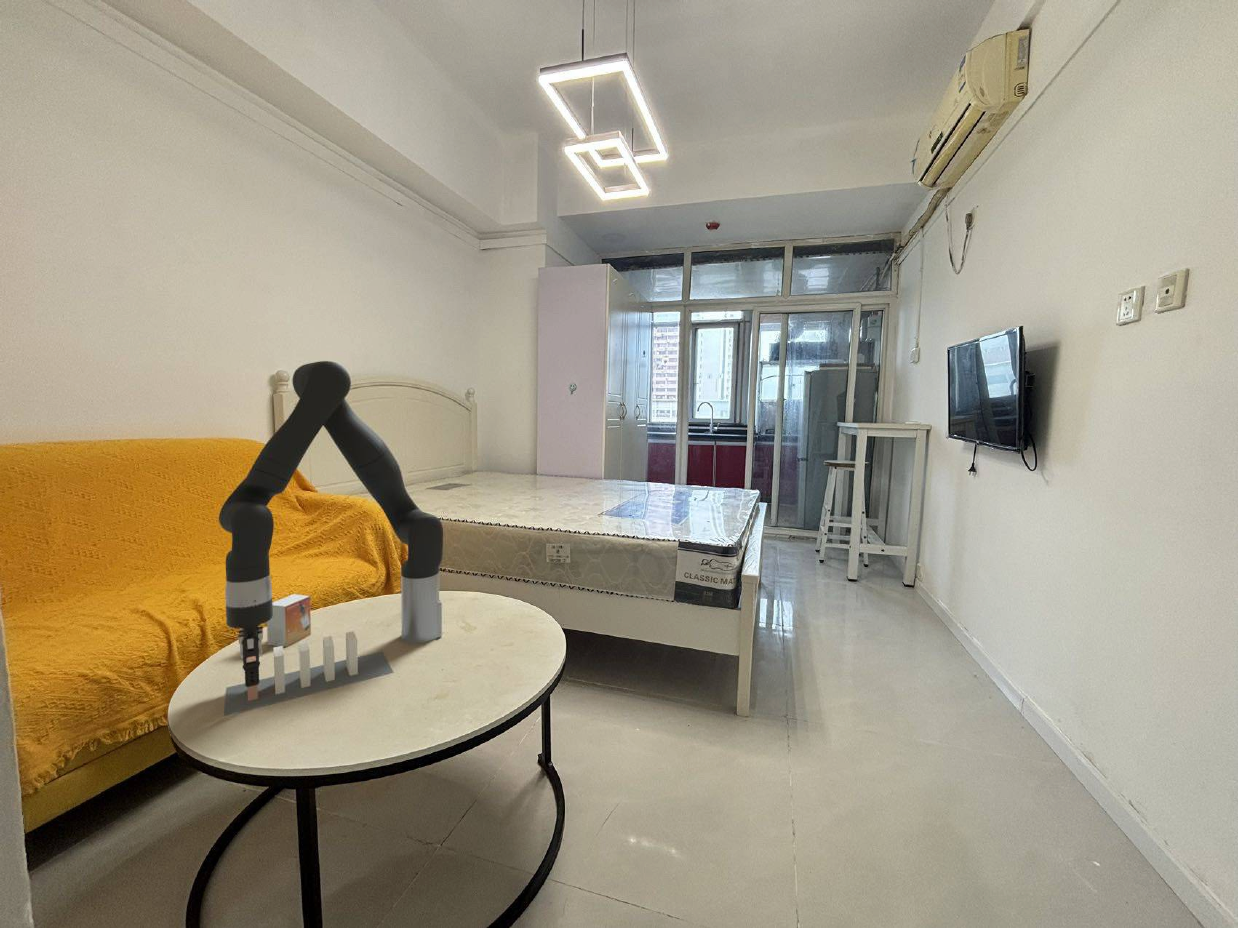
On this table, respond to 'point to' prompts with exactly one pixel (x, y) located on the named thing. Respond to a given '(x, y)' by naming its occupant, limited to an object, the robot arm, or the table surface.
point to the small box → (289, 620)
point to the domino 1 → (252, 689)
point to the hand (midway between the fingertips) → (252, 675)
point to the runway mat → (367, 669)
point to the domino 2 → (279, 670)
